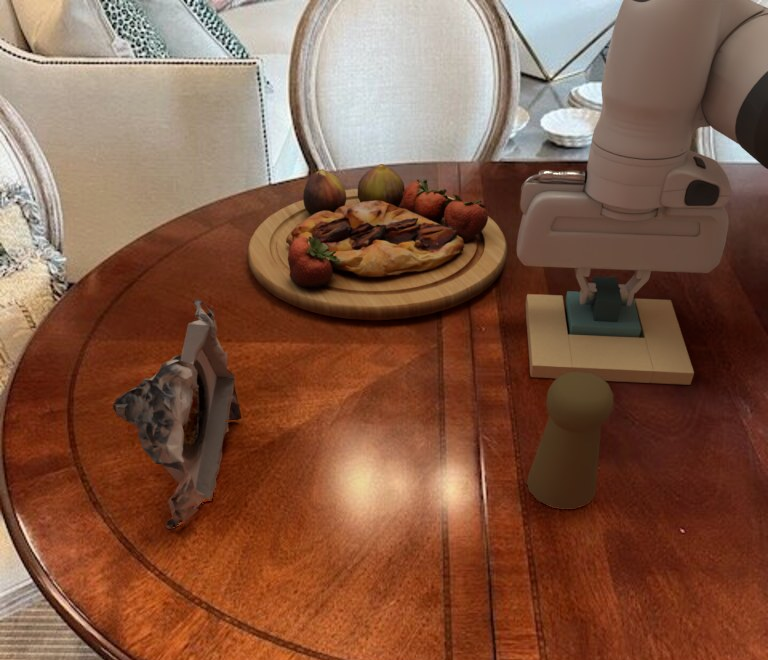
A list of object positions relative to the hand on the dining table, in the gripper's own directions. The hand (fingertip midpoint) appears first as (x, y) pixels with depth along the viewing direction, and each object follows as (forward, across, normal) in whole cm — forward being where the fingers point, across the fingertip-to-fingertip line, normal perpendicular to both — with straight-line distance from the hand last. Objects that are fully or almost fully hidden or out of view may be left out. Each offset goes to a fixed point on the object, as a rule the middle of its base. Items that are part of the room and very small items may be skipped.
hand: (604, 302), depth 84 cm
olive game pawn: (+3, -6, -26) cm, 27 cm away
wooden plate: (+3, -26, +14) cm, 30 cm away
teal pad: (+2, 0, 0) cm, 2 cm away
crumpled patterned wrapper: (+3, -38, -27) cm, 47 cm away
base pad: (+3, 0, -3) cm, 4 cm away
